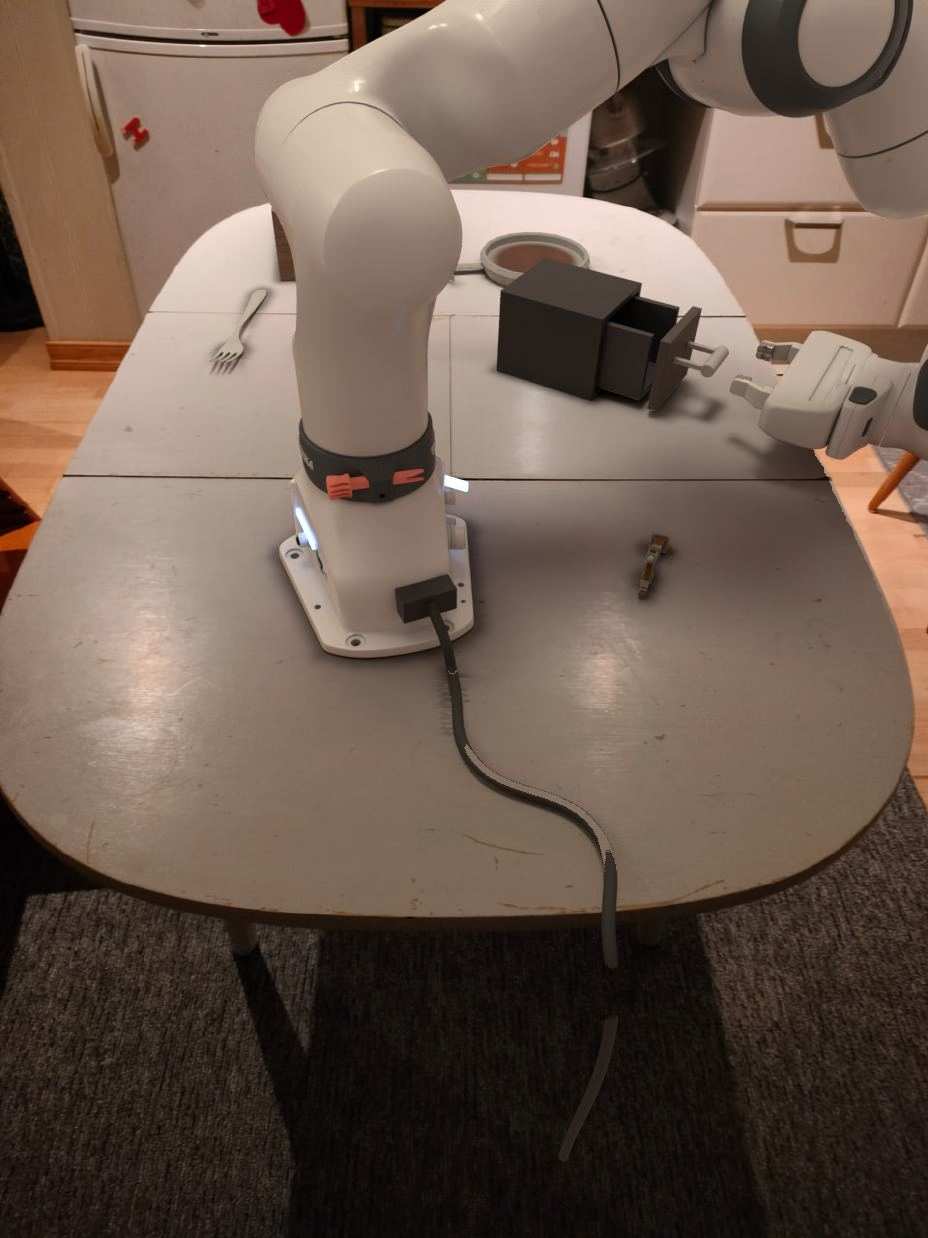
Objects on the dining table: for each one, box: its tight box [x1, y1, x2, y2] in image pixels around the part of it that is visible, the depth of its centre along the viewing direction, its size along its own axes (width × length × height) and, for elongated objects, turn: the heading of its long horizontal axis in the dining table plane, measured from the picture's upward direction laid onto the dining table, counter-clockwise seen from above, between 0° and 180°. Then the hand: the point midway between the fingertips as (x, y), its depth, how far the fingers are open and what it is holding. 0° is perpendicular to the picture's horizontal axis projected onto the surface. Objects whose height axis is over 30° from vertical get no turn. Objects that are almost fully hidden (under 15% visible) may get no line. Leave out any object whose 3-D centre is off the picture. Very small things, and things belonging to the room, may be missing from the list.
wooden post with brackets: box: [638, 531, 671, 596], centre depth 81 cm, size 2×8×4 cm, turn 159°
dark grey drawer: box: [596, 295, 730, 412], centre depth 103 cm, size 18×10×9 cm, turn 59°
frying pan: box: [450, 231, 591, 287], centre depth 130 cm, size 17×3×28 cm
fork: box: [208, 289, 267, 364], centre depth 115 cm, size 3×24×2 cm, turn 177°
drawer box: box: [496, 258, 643, 401], centre depth 107 cm, size 14×12×11 cm
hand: (745, 365), depth 98 cm, fingers open, 8 cm apart
